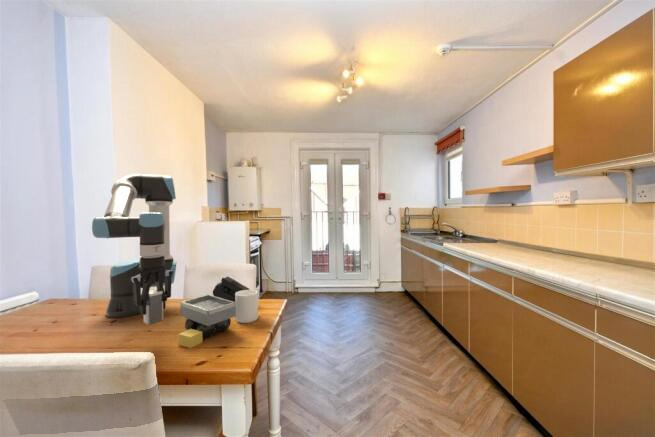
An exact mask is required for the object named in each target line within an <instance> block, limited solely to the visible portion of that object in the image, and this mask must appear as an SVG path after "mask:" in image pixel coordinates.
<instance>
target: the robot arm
mask: <svg viewBox="0 0 655 437" xmlns="http://www.w3.org/2000/svg"><path fill="white" fill-rule="evenodd" d="M175 190H176V189H175V184H174V179H173V177H172V176H171V175H163V174H141V173H134V174H129V175H126V176H124V177H121V178H119V179H118V180H117V181H116V182H115V183H114V184H113V185H112V187H111V198H110V199H109V203H108V205H107V208H106V210H105V212H104V215H103V216H100V217H99V216H98V217H94V218H93V219H92V222H91V230H92V235H93V237H94V238H96V239H117V238H119V239H121V238H139V256H140V257H139V260H138V259H137V260H129V261H124V262H120V263H116V264H113V265H112V266H111V267H110V273H109V282H110V283H109V284H110V285H109V286H110V298H109V301H108V303H107V304H108V305H107V307H106V310H105V316H106V317H108V318H123V317H124V318H125V317H130V316H131V317H132V316H134V315H138V314H140V315H142V317H143V323H144V324H146V325H150V324H149V305H148V304H147V300H148V293H149V290H151V289H150V288H155V287H156V289H157V290H160V291H163V294H162V320H164V310H166V302H167V301H168V299H170V298H171V297H172V285H173V284H174V283H175V277H176V272H177V263H178V262H177V261H176V260H174V257H173V256H172V255H171V245H170V244H171V240H170V239H171V238H170V234H171V233H170V206H171V205H172V204H173V203H174V200H177V198H176V191H175ZM136 199H142V200H143V199H144V202H145V204H146V205H147V206H148V212H141V213H139V216H130V214H131V209H132V206H133V201H134V200H136Z"/></svg>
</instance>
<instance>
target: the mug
mask: <svg viewBox="0 0 655 437" xmlns="http://www.w3.org/2000/svg"><path fill="white" fill-rule="evenodd" d="M235 302H236V316H235V322H237V323H239V324H240V323H241V324H248V323H253V322H255V321H257V319H258V317H259V292H258V291H257V290H256V289H250V290H242V291H238V292H236V293H235Z"/></svg>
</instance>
